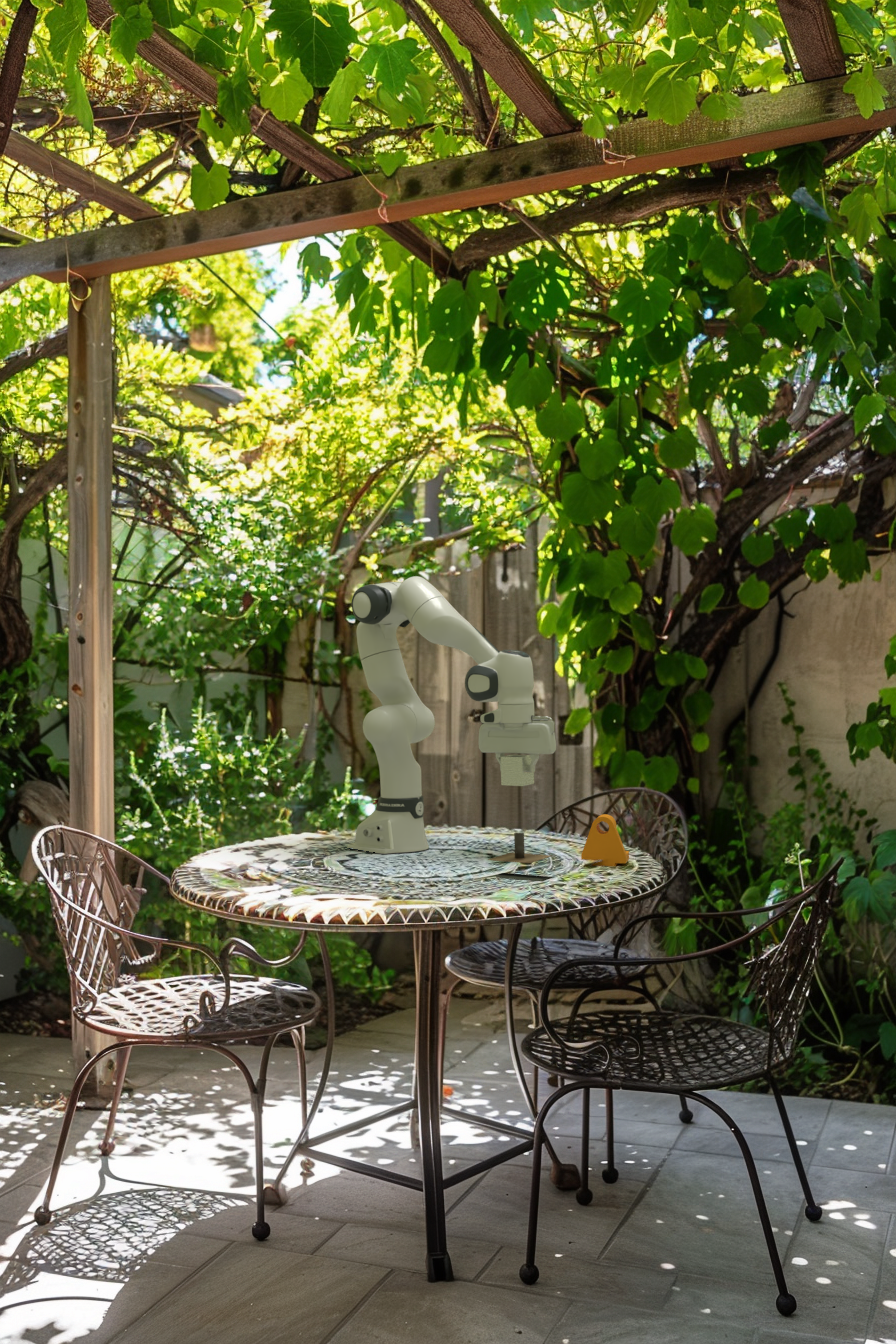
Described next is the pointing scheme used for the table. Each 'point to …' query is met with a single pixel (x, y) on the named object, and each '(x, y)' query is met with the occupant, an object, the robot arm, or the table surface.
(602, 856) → the bracket
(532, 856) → the post board
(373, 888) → the table surface
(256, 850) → the table surface
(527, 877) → the mat
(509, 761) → the white box
